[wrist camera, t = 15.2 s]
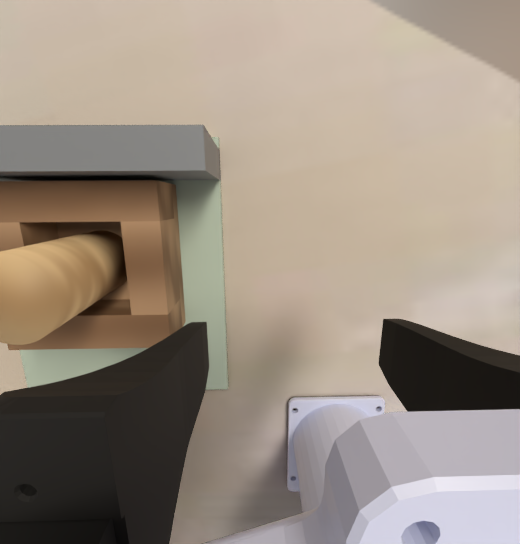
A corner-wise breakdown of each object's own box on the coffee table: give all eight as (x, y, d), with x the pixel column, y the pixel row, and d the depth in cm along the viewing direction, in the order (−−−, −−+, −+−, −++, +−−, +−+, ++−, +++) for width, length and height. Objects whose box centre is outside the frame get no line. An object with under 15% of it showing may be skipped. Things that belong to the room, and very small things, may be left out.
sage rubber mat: (228, 386, 24) (227, 389, 23) (32, 389, 24) (29, 392, 23) (219, 138, 19) (218, 137, 19) (-22, 139, 19) (-28, 138, 19)
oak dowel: (136, 288, 20) (64, 346, 12) (78, 286, 20) (-32, 343, 12) (132, 231, 19) (51, 255, 11) (71, 228, 19) (-54, 251, 11)
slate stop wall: (220, 180, 20) (205, 170, 14) (-13, 181, 20) (-136, 172, 14) (219, 149, 20) (203, 125, 13) (-20, 150, 19) (-151, 125, 13)
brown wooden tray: (185, 321, 22) (170, 347, 18) (52, 323, 22) (8, 350, 18) (175, 184, 20) (156, 180, 16) (26, 185, 19) (-31, 181, 15)
